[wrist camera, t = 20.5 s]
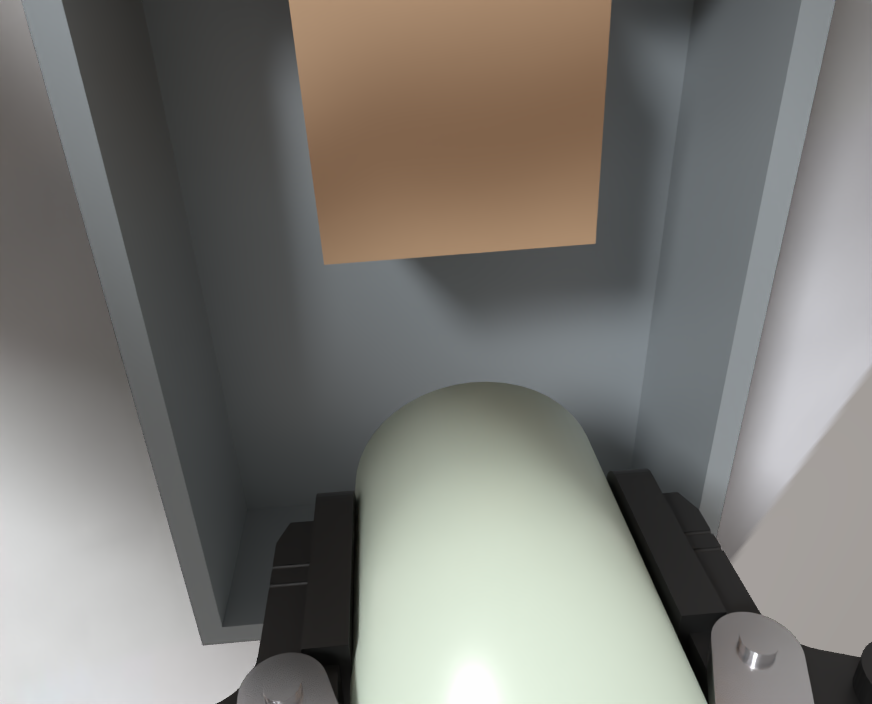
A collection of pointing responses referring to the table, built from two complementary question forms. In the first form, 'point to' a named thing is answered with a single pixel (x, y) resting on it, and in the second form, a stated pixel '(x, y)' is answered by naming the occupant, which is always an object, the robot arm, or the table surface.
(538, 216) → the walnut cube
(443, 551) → the sage cylinder
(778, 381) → the table surface
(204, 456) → the tote
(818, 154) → the table surface
